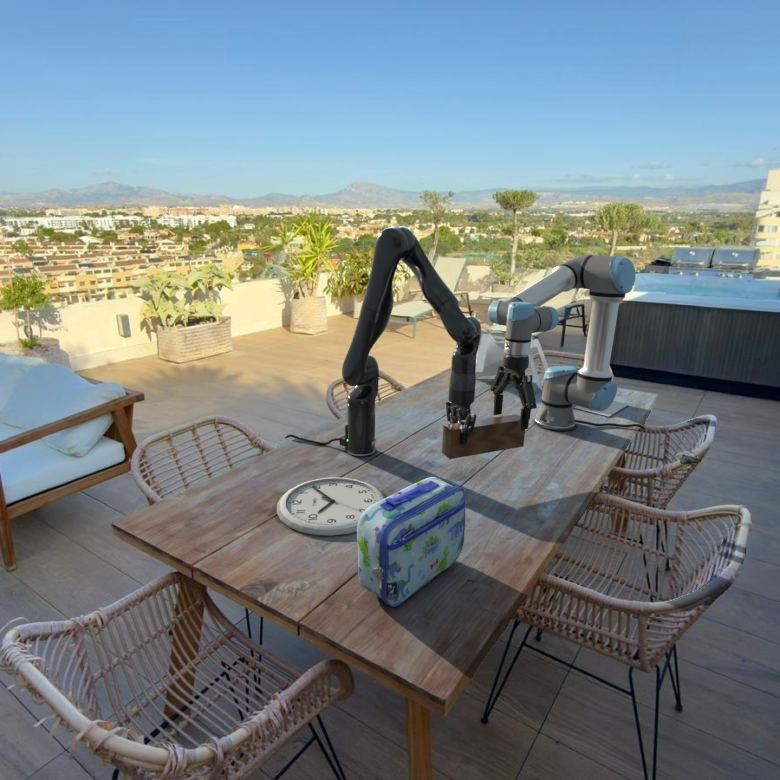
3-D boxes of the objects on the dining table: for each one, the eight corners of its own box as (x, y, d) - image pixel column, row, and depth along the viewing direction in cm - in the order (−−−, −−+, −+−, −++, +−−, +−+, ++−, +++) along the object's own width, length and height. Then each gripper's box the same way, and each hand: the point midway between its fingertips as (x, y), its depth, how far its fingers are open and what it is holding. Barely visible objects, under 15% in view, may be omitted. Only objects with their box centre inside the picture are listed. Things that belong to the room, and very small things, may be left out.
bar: (514, 440, 169) (516, 414, 166) (523, 446, 164) (526, 419, 162) (441, 452, 158) (443, 424, 156) (449, 459, 154) (451, 430, 151)
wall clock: (392, 527, 129) (268, 531, 127) (391, 533, 130) (269, 537, 127) (383, 473, 158) (282, 475, 155) (383, 478, 158) (282, 480, 156)
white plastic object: (488, 419, 265) (468, 396, 240) (469, 347, 287) (449, 319, 262) (559, 395, 253) (546, 369, 228) (534, 321, 275) (519, 290, 250)
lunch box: (386, 620, 101) (388, 525, 95) (350, 593, 108) (349, 503, 102) (468, 563, 119) (474, 480, 112) (432, 543, 126) (436, 464, 120)
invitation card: (608, 416, 214) (573, 407, 224) (608, 416, 214) (573, 408, 224) (628, 404, 229) (594, 396, 238) (628, 405, 229) (594, 397, 238)
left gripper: (438, 380, 156) (436, 433, 161) (463, 394, 144) (459, 451, 149) (460, 378, 159) (457, 430, 164) (486, 391, 147) (482, 447, 152)
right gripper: (482, 346, 165) (477, 410, 172) (532, 365, 144) (525, 437, 150) (502, 345, 168) (497, 407, 174) (554, 363, 146) (546, 434, 153)
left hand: (458, 439), depth 156 cm, fingers closed on bar, 5 cm apart
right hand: (509, 421), depth 162 cm, fingers open, 13 cm apart
